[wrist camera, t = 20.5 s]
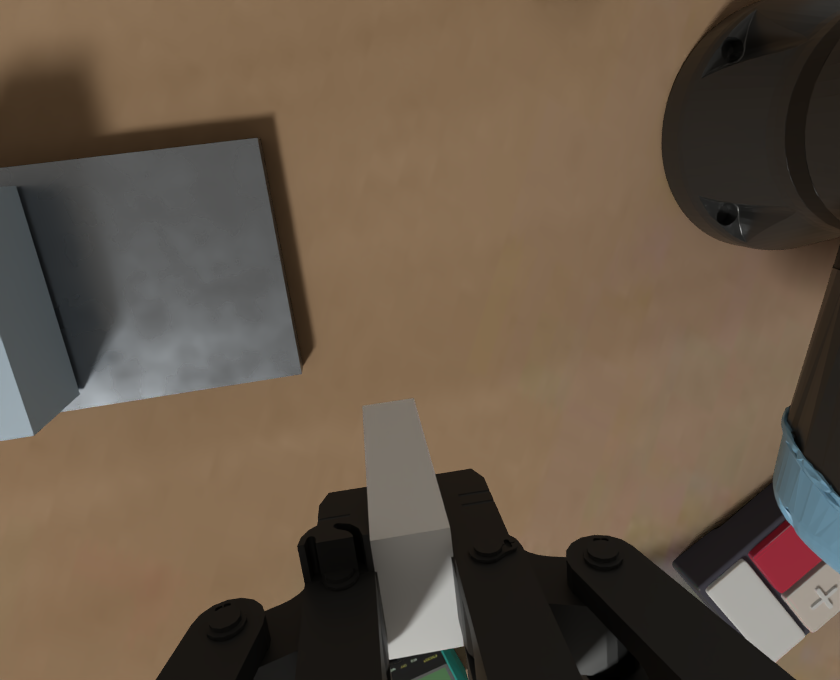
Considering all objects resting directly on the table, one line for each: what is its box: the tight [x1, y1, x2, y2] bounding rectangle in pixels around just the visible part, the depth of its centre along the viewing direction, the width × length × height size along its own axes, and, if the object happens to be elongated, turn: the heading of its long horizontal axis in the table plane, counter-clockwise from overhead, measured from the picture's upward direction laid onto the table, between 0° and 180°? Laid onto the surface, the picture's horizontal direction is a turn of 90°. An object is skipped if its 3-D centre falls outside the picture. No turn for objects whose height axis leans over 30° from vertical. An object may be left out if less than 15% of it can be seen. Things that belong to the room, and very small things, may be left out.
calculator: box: [672, 482, 840, 662], centre depth 47 cm, size 11×4×15 cm
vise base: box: [0, 138, 303, 412], centre depth 32 cm, size 28×14×8 cm, turn 97°
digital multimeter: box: [389, 648, 468, 680], centre depth 44 cm, size 7×15×3 cm, turn 22°
